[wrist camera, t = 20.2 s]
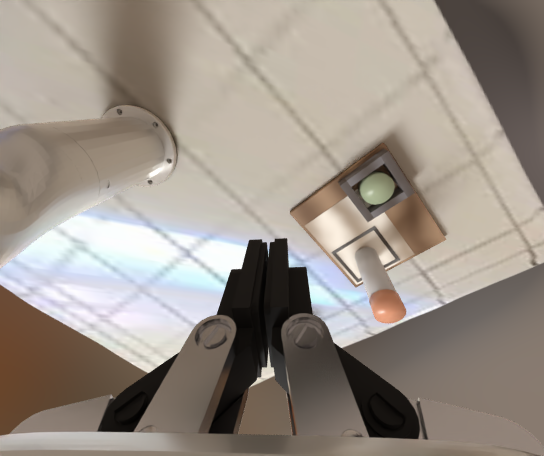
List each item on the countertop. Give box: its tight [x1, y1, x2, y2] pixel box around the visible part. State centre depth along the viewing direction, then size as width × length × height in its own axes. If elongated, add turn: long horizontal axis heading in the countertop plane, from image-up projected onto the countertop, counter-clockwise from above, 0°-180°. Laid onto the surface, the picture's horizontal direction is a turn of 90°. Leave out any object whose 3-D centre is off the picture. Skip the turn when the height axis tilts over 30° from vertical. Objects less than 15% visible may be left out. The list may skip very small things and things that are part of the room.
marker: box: [355, 247, 406, 323], centre depth 38 cm, size 4×4×13 cm
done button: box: [358, 171, 395, 205], centre depth 37 cm, size 5×5×2 cm
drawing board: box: [290, 143, 446, 287], centre depth 41 cm, size 18×21×3 cm
